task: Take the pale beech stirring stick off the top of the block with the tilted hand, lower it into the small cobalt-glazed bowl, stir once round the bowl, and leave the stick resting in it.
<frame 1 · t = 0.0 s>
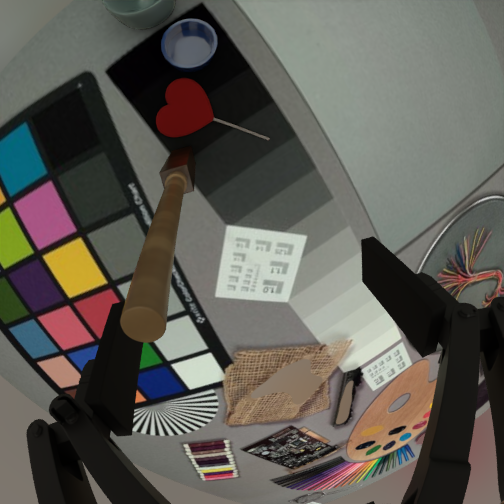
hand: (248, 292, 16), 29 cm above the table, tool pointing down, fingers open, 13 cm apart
block: (184, 157, 40), on the table
bowl: (190, 50, 34), on the table
stick: (176, 181, 28), point 14 cm above the table, touching block
lollipop: (215, 119, 38), on the table
cup: (149, 9, 30), on the table
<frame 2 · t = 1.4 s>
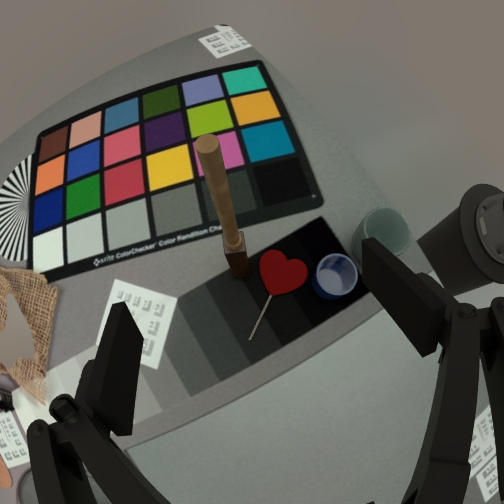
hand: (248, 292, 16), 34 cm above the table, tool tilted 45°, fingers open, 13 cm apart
block: (241, 269, 52), on the table
bowl: (330, 280, 51), on the table
stick: (233, 242, 38), point 14 cm above the table, touching block
lollipop: (270, 297, 50), on the table
cup: (367, 251, 52), on the table
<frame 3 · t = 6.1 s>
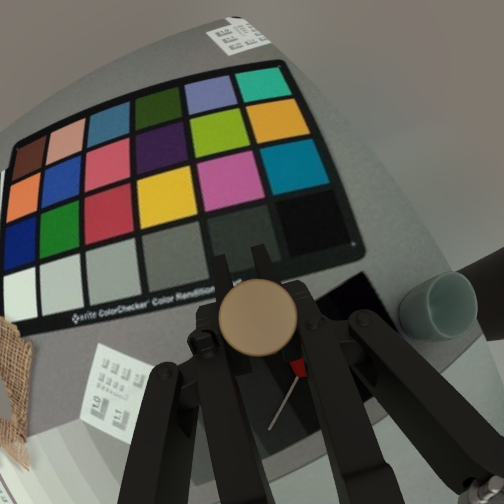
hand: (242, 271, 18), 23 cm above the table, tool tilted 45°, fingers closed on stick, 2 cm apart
stick: (260, 340, 25), point 14 cm above the table, touching gripper
lollipop: (295, 378, 37), on the table
cup: (415, 315, 39), on the table
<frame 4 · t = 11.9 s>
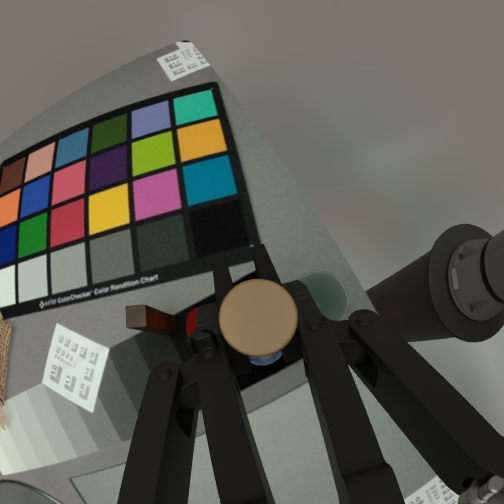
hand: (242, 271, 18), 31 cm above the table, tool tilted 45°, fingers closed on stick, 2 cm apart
block: (169, 325, 48), on the table
bowl: (261, 342, 47), on the table
stick: (260, 340, 25), point 22 cm above the table, touching gripper
cup: (308, 310, 48), on the table
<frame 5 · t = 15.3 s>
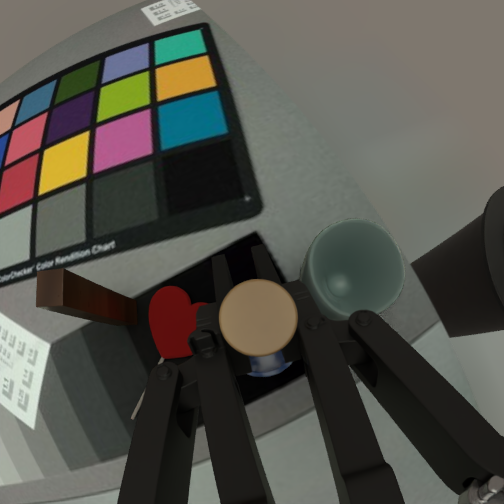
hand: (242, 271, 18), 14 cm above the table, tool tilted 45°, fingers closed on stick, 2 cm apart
block: (126, 313, 32), on the table
bowl: (262, 340, 31), on the table
stick: (260, 340, 25), point 5 cm above the table, touching gripper
lollipop: (163, 360, 30), on the table
cup: (331, 290, 32), on the table
when the fingers open (9 cm above the table, at t = 18.1 s): stick stays where it is, resting on bowl.
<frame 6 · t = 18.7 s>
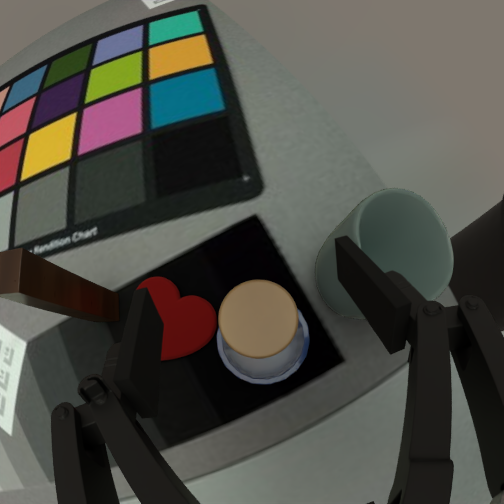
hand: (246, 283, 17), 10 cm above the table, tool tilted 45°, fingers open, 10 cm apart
block: (107, 308, 27), on the table
bowl: (263, 340, 26), on the table
stick: (262, 340, 25), point 1 cm above the table, touching bowl
lollipop: (148, 362, 26), on the table
cup: (344, 281, 27), on the table, touching gripper
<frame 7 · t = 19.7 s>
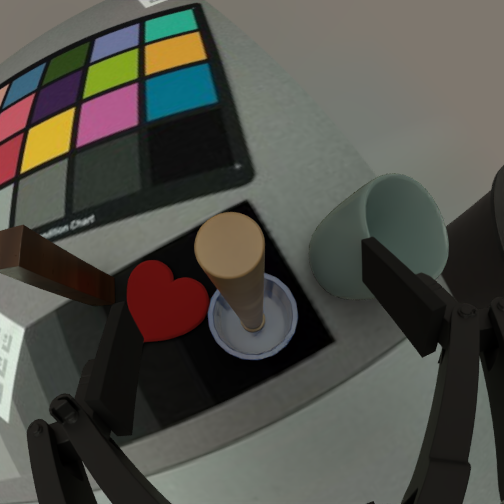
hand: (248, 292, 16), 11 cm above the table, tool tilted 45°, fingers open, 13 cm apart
block: (103, 292, 28), on the table
bowl: (254, 321, 27), on the table
stick: (253, 320, 26), point 1 cm above the table, touching bowl
lollipop: (143, 344, 27), on the table
cup: (335, 262, 28), point 1 cm above the table
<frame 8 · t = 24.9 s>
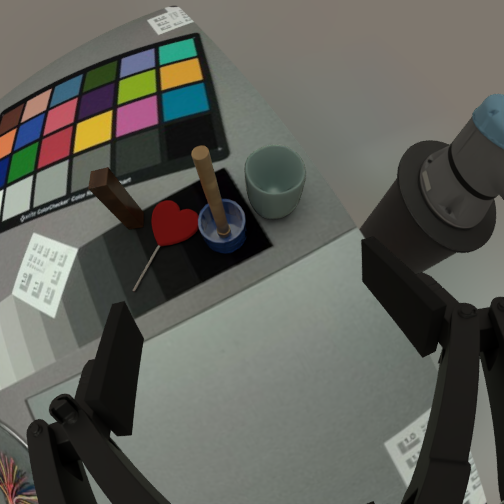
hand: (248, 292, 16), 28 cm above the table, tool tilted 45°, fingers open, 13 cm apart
block: (136, 220, 48), on the table
bowl: (225, 233, 47), on the table
stick: (224, 231, 46), point 1 cm above the table, touching bowl
lollipop: (159, 249, 47), on the table
cup: (273, 203, 48), on the table
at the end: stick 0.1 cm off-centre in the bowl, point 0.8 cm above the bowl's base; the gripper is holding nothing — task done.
